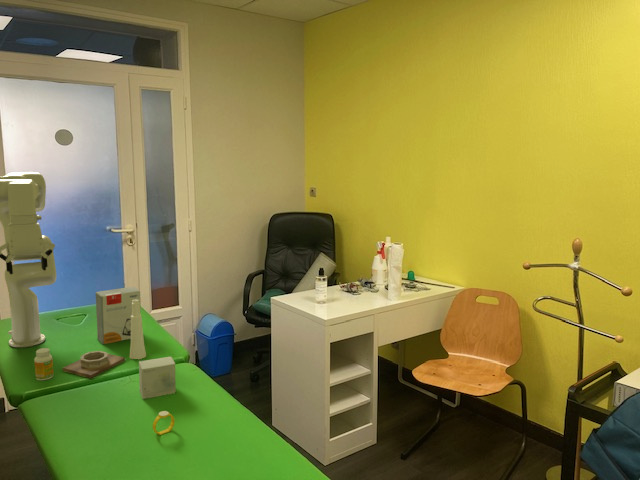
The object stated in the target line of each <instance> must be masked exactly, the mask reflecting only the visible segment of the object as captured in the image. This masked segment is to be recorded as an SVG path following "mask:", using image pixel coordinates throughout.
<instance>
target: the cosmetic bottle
mask: <svg viewBox="0 0 640 480" xmlns="http://www.w3.org/2000/svg"><path fill="white" fill-rule="evenodd" d="M132 302H133V303H132V315H131V339H130V347H129V359H130V358H131V360H133V359H138V360H143V359H144V358H146V357H147V352H146V347H145V340H144V339H145V338H144V330H143V329H144V328H143V318H142V315H140V310H141V302H140V303H139V300H137V299H135V300H132ZM142 358H143V359H142Z"/></svg>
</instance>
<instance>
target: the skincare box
mask: <svg viewBox="0 0 640 480" xmlns="http://www.w3.org/2000/svg"><path fill="white" fill-rule="evenodd" d="M138 373H139V374H138V376H139V393H140V396H141V398H142V400H145V399H150V398H151V399H152V398H157V397H162V395H163V396H167V394H168V395H172V393H173V394H176V393H175V392H176V389H177V387H176V386H177V384H176V362H175V361H174V359H173V357H172V356H167V357H159V358H153V359H147V360H139V361H138Z"/></svg>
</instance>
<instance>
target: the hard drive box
mask: <svg viewBox="0 0 640 480" xmlns="http://www.w3.org/2000/svg"><path fill="white" fill-rule="evenodd" d="M135 299H137V300H139V303H140V304H141V290H139V289H138V288H136V287H135V286H128V287H122V288H115V289H107V290H100V291H95V308H96V309H95V310H96V312H95V313H96V332H97V340H98V341H99V342H100V343H101V344H102V345H106V344H107V345H108V344H113V343H116V342H121V341H126V340H131V315H132V303H133V302H132V300H135ZM141 311H142V310H141V309H140V315H141V314H142V313H141ZM141 316H142V315H141Z"/></svg>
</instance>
